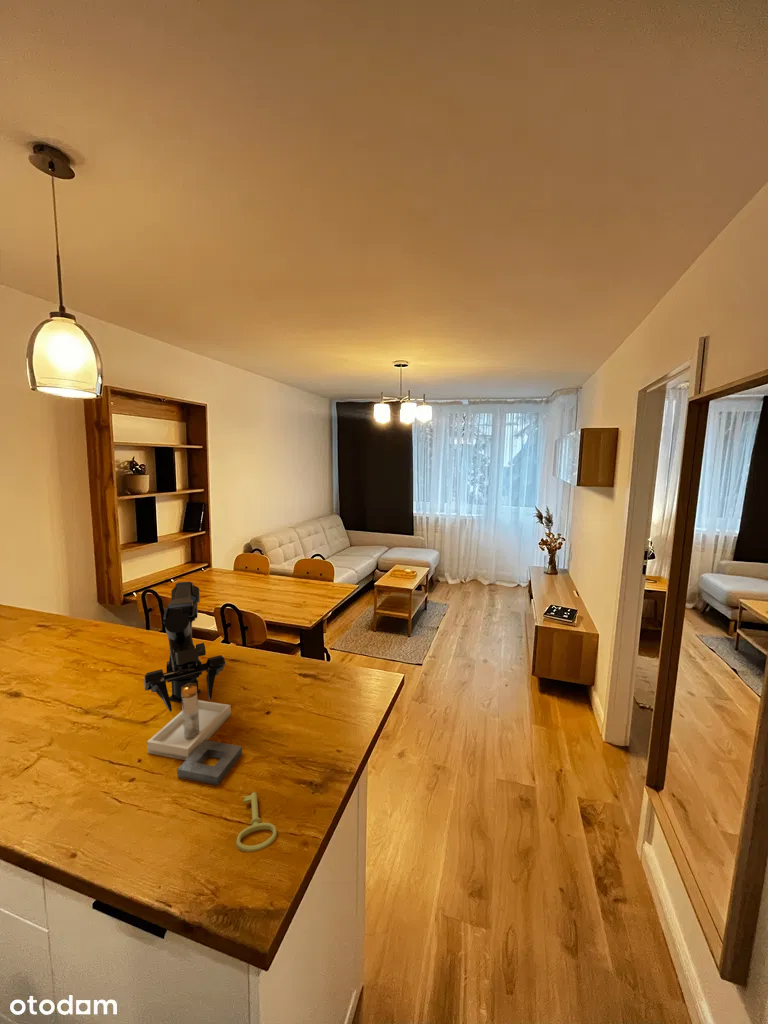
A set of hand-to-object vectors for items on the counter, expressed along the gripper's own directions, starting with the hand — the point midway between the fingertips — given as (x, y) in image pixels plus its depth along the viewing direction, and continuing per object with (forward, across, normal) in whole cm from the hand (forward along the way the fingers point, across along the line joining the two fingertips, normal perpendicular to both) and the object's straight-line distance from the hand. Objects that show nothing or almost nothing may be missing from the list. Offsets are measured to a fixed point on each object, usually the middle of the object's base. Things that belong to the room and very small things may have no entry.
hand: (191, 705), depth 106 cm
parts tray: (+5, 0, +8) cm, 9 cm away
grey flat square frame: (+15, +2, -2) cm, 15 cm away
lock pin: (+6, 0, +6) cm, 8 cm away
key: (+30, +5, -17) cm, 35 cm away
